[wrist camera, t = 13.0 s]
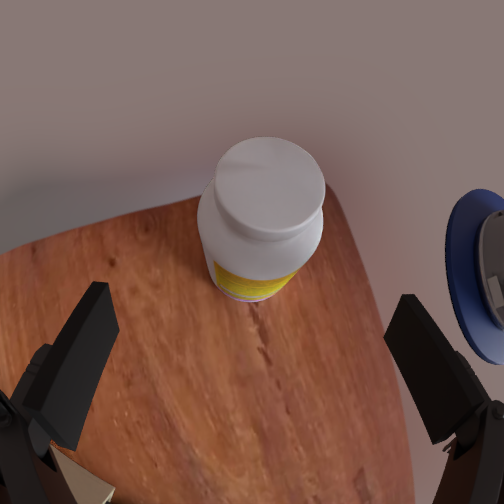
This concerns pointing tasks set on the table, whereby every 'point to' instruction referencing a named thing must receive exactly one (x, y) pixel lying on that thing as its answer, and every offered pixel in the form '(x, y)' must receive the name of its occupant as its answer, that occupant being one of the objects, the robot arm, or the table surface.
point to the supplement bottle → (260, 216)
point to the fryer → (83, 482)
